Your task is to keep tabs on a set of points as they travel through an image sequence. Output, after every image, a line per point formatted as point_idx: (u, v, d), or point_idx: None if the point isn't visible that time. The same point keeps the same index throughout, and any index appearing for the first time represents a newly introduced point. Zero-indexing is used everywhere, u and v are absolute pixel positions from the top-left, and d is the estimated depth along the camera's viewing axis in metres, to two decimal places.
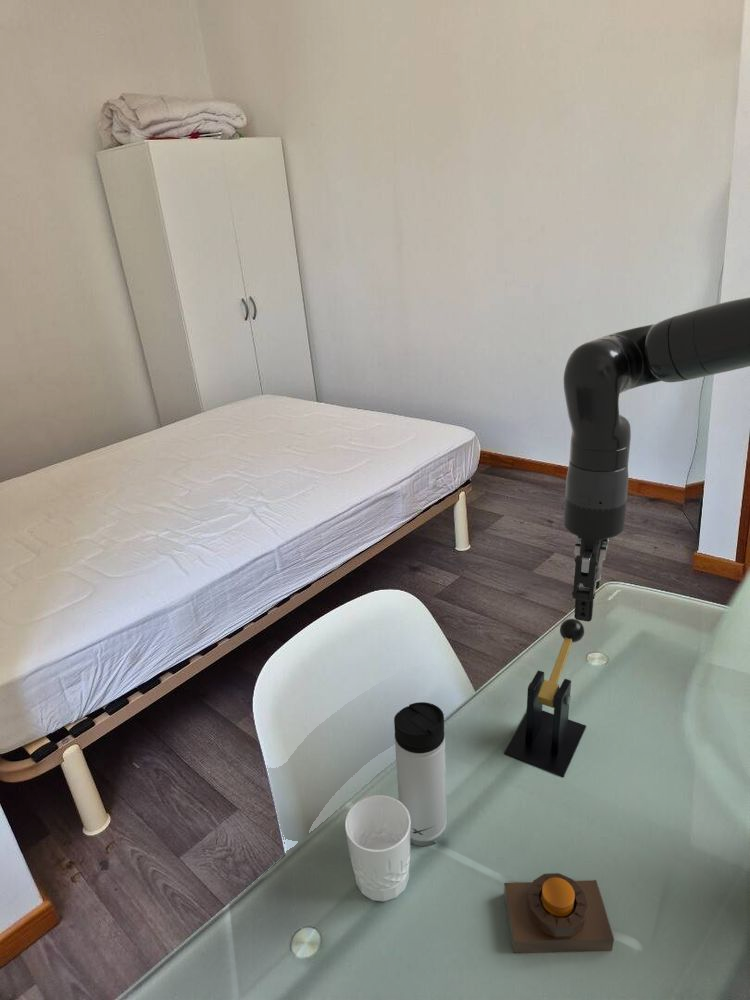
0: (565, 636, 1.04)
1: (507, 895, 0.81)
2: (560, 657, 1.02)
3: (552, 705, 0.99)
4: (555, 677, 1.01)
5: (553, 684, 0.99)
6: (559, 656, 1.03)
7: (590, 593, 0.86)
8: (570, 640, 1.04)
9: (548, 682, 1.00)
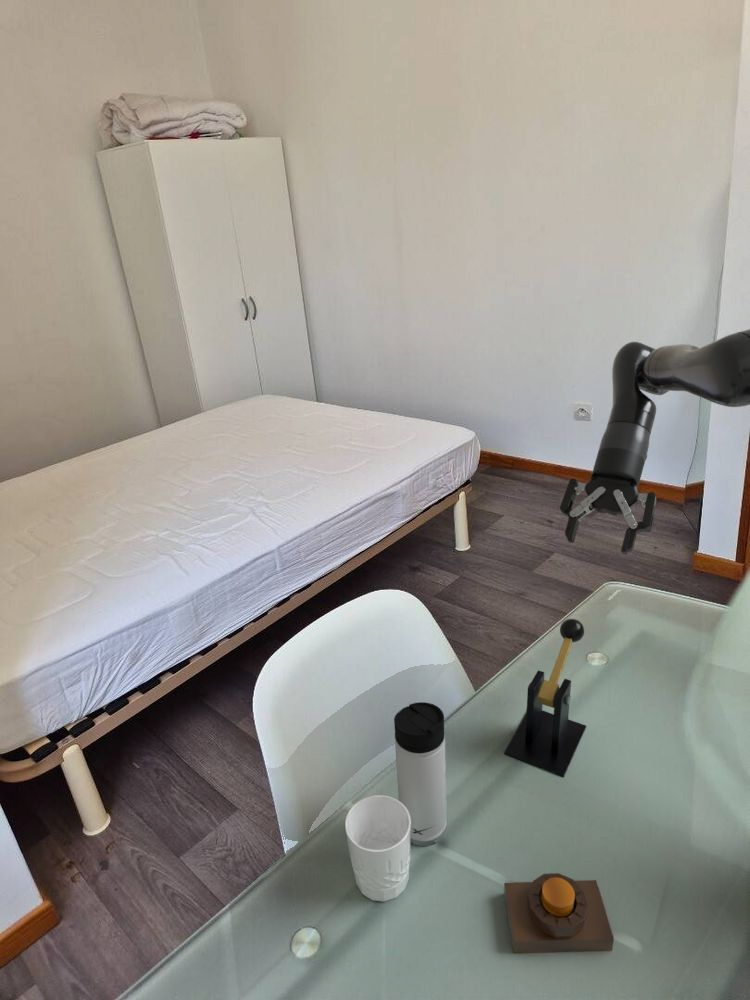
0: (565, 636, 1.04)
1: (507, 895, 0.81)
2: (560, 657, 1.02)
3: (552, 705, 0.99)
4: (555, 677, 1.01)
5: (553, 684, 0.99)
6: (559, 656, 1.03)
7: None
8: (570, 640, 1.04)
9: (548, 682, 1.00)
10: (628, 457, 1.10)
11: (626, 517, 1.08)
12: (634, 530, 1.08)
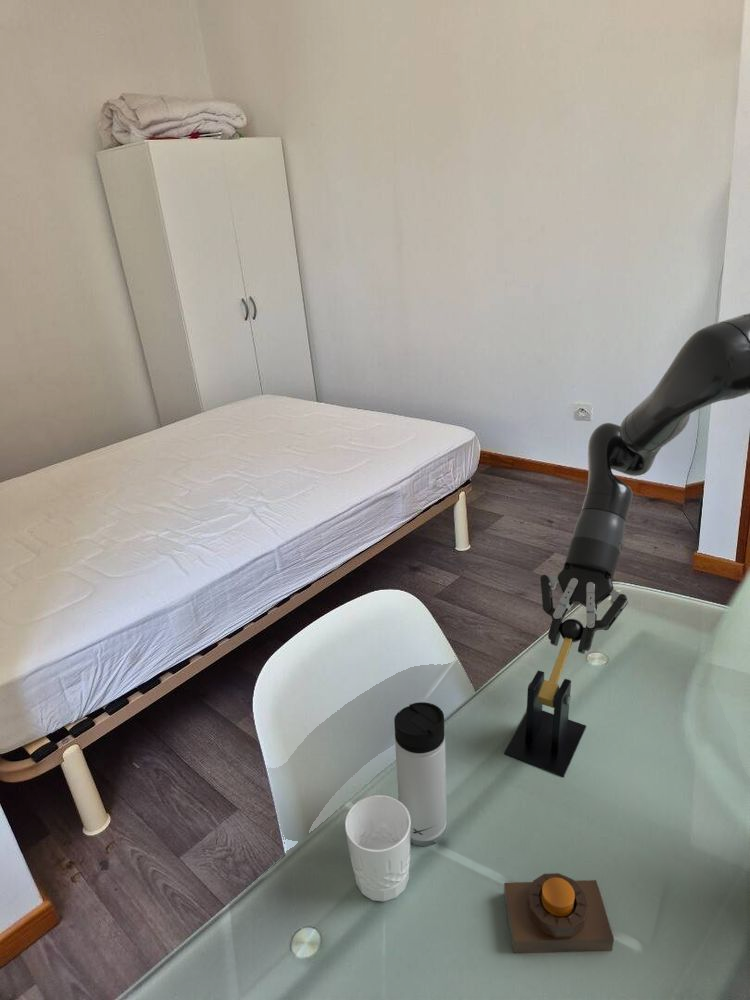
0: (565, 636, 1.04)
1: (507, 895, 0.81)
2: (560, 657, 1.02)
3: (552, 705, 0.99)
4: (555, 677, 1.01)
5: (553, 684, 0.99)
6: (559, 656, 1.03)
7: None
8: (570, 640, 1.04)
9: (548, 682, 1.00)
10: (602, 548, 1.04)
11: (587, 613, 1.04)
12: (589, 629, 1.04)
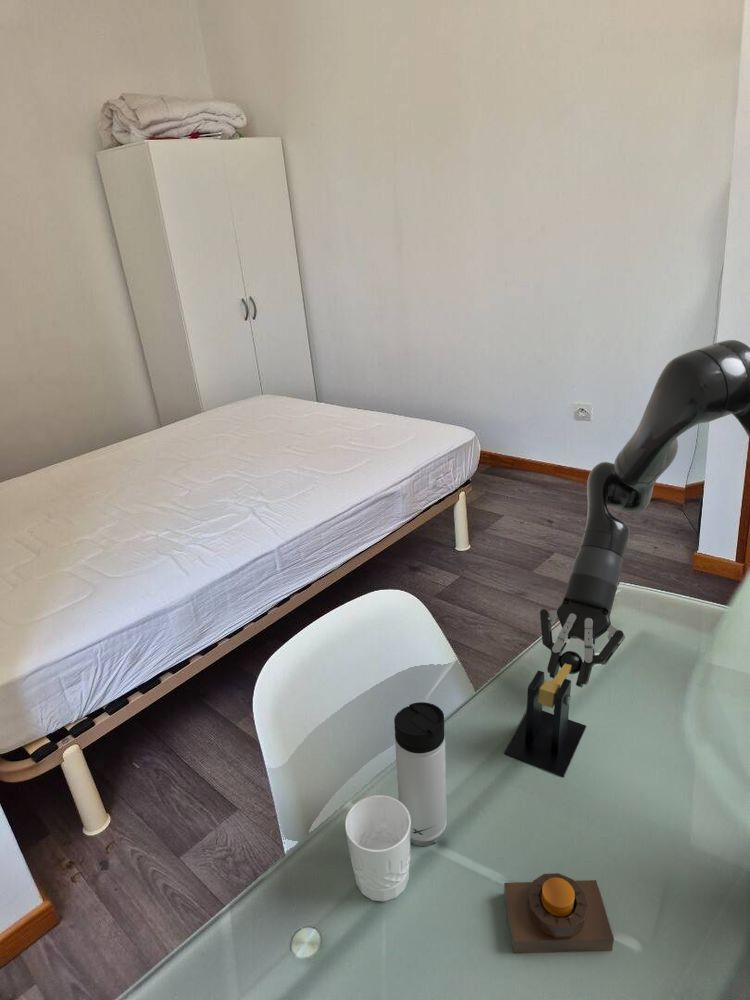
0: (565, 662, 1.08)
1: (507, 895, 0.81)
2: (560, 673, 1.05)
3: (552, 702, 0.98)
4: (556, 683, 1.02)
5: (555, 684, 1.00)
6: (559, 672, 1.05)
7: None
8: (570, 665, 1.07)
9: (550, 682, 1.01)
10: (600, 585, 1.08)
11: (585, 648, 1.08)
12: (587, 663, 1.07)
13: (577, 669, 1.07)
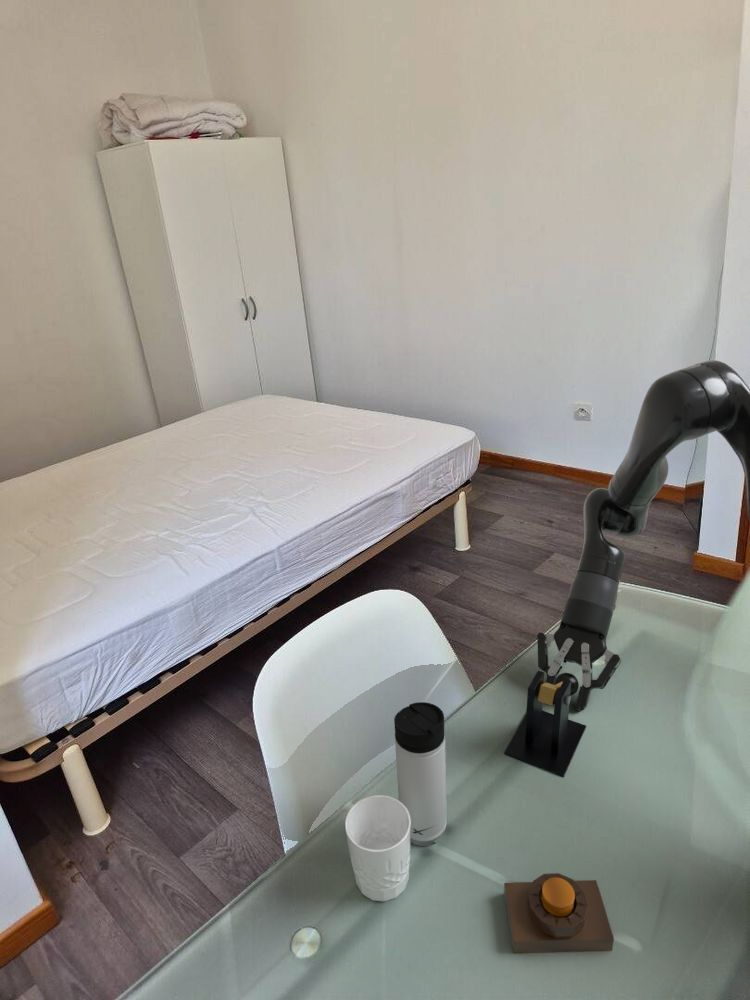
0: (562, 680, 1.08)
1: (507, 895, 0.81)
2: (558, 685, 1.05)
3: (552, 699, 0.98)
4: None
5: (555, 685, 1.01)
6: (557, 684, 1.05)
7: None
8: None
9: (550, 684, 1.01)
10: (596, 611, 1.10)
11: (583, 673, 1.09)
12: (586, 688, 1.09)
13: (573, 689, 1.08)
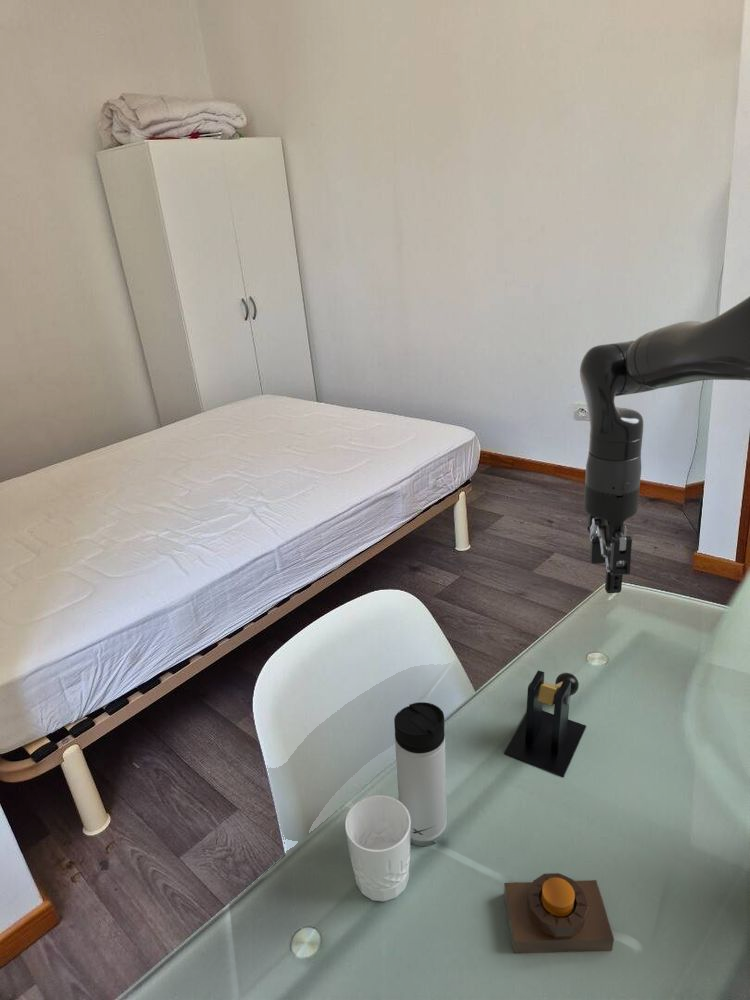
0: (562, 680, 1.08)
1: (507, 895, 0.81)
2: (558, 685, 1.05)
3: (552, 699, 0.98)
4: None
5: (555, 685, 1.01)
6: (557, 684, 1.05)
7: None
8: None
9: (550, 684, 1.01)
10: (591, 496, 0.98)
11: (605, 557, 1.01)
12: (611, 573, 1.00)
13: (573, 689, 1.08)
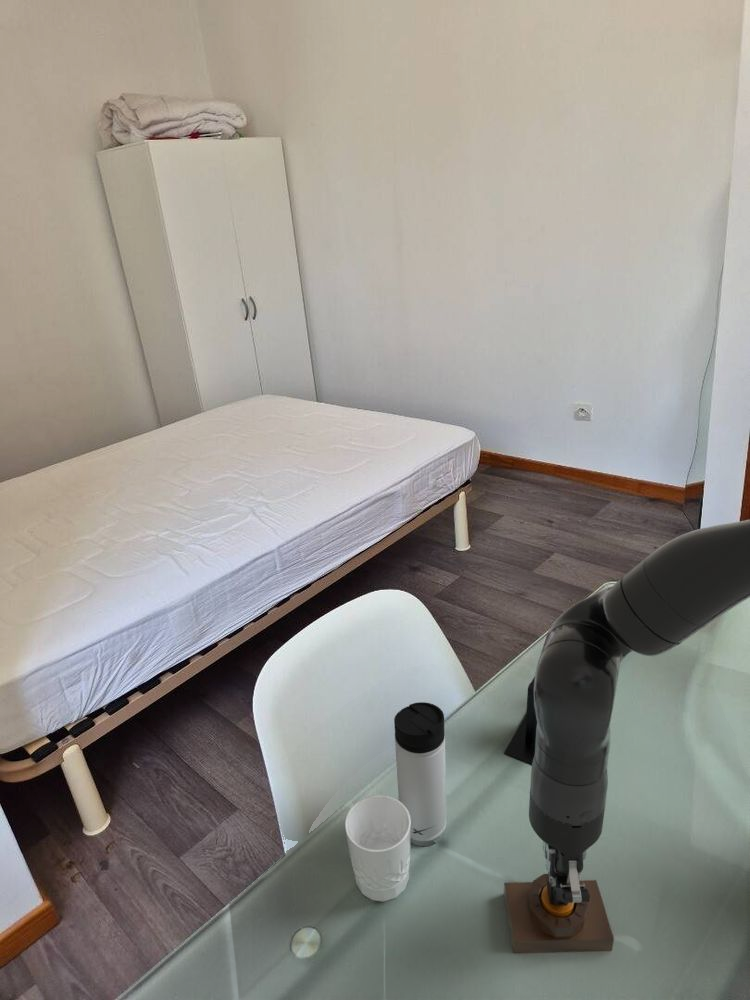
0: None
1: (507, 895, 0.81)
2: None
3: None
4: None
5: None
6: None
7: None
8: None
9: None
10: (538, 816, 0.70)
11: None
12: None
13: None
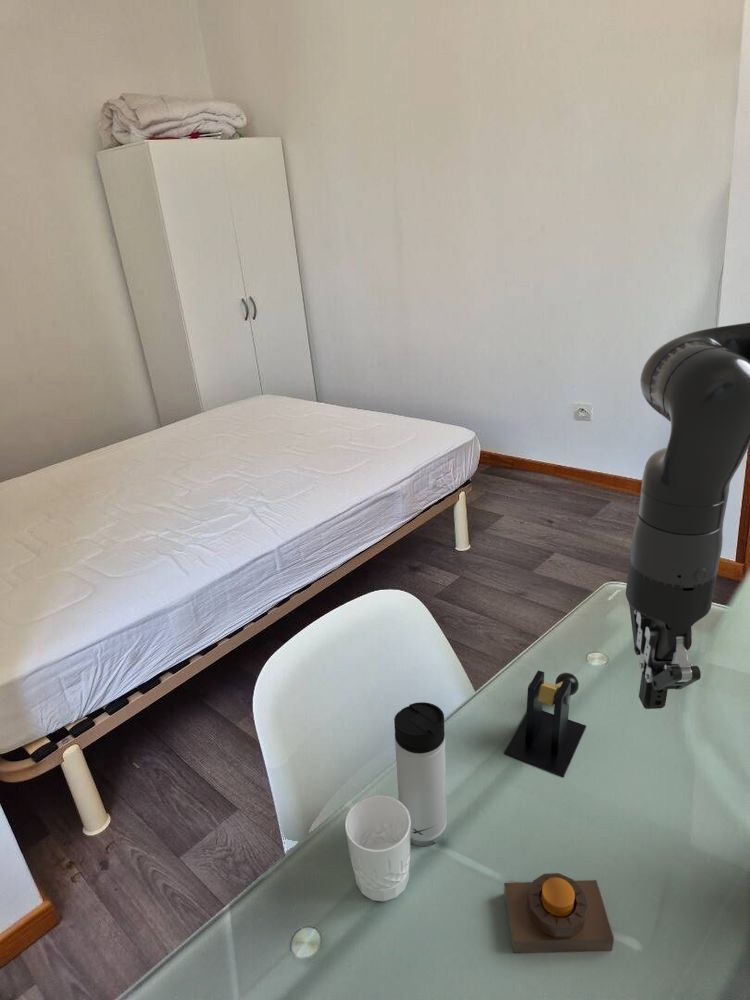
0: (562, 680, 1.08)
1: (507, 895, 0.81)
2: (558, 685, 1.05)
3: (552, 699, 0.98)
4: None
5: (555, 685, 1.01)
6: (557, 684, 1.05)
7: None
8: None
9: (550, 684, 1.01)
10: (641, 585, 0.62)
11: None
12: None
13: (573, 689, 1.08)
